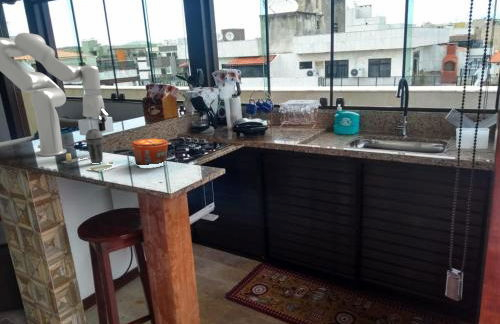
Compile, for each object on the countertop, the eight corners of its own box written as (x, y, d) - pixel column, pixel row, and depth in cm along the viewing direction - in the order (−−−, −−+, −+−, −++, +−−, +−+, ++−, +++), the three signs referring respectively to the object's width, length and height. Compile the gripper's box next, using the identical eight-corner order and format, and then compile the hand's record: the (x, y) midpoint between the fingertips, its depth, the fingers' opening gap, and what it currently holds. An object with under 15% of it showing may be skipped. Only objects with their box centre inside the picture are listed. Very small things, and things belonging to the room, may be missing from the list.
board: (86, 170, 153) (86, 168, 152) (119, 160, 168) (119, 158, 168) (100, 172, 149) (100, 170, 149) (132, 162, 165) (132, 160, 164)
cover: (79, 135, 172) (77, 120, 170) (103, 130, 184) (101, 116, 182) (90, 136, 169) (88, 120, 167) (113, 131, 181) (112, 117, 179)
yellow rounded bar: (61, 162, 164) (59, 154, 163) (82, 157, 174) (81, 149, 173) (68, 164, 162) (67, 155, 161) (90, 158, 172) (89, 150, 171)
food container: (177, 163, 163) (176, 140, 161) (149, 172, 150) (148, 146, 148) (152, 158, 172) (151, 136, 169) (124, 166, 159) (122, 142, 156)
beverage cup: (109, 161, 166) (104, 118, 161) (98, 165, 159) (93, 120, 154) (95, 160, 168) (90, 117, 163) (84, 164, 161) (79, 119, 156)
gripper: (73, 93, 172) (77, 130, 177) (99, 94, 165) (103, 132, 169) (86, 92, 179) (90, 128, 183) (112, 92, 171) (115, 130, 176)
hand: (96, 130), depth 176 cm, fingers closed on cover, 7 cm apart
